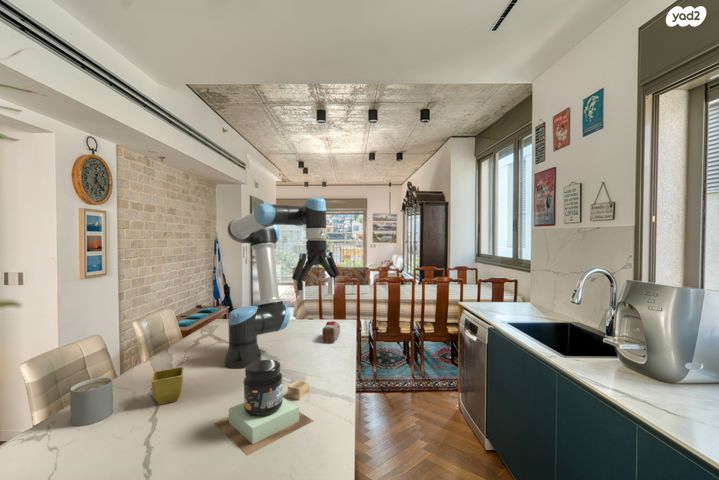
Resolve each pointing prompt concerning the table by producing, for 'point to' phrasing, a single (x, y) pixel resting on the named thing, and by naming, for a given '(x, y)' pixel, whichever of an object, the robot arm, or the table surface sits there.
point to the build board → (250, 448)
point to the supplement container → (262, 388)
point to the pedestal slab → (263, 421)
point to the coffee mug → (91, 401)
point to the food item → (331, 332)
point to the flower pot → (167, 385)
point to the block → (298, 390)
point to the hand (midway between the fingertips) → (317, 296)
